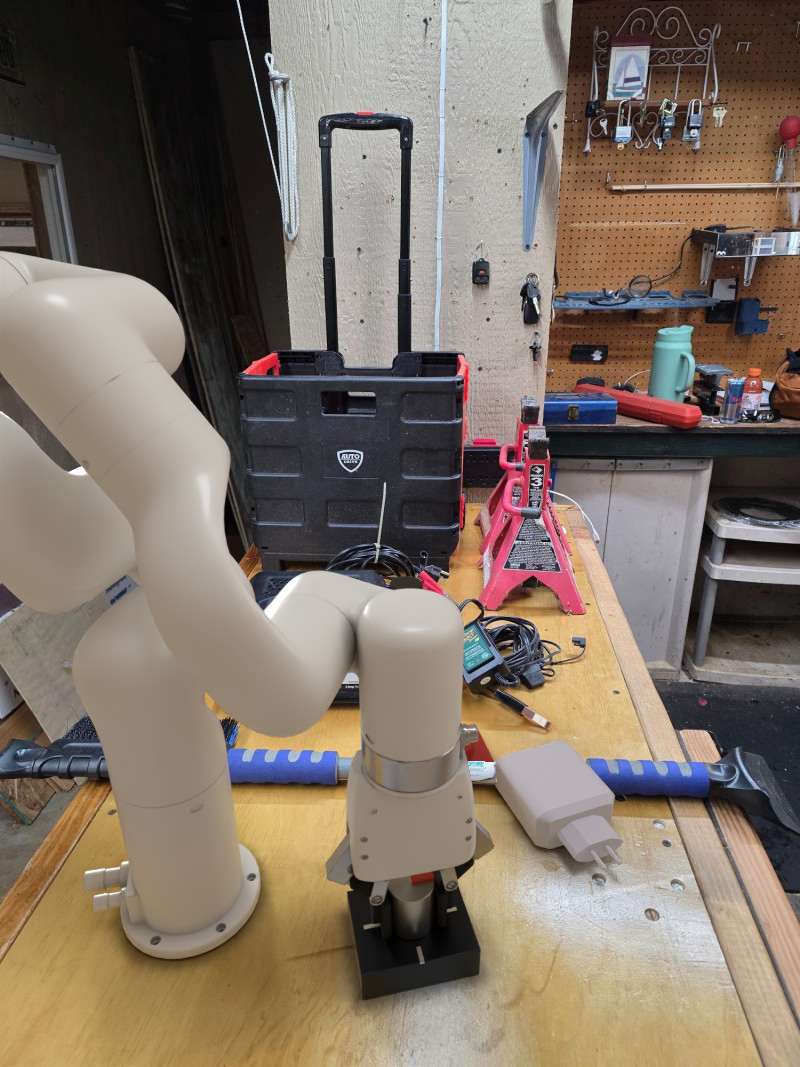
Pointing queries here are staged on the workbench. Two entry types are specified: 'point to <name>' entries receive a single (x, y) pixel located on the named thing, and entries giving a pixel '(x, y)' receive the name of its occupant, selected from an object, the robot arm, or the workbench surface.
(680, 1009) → the workbench surface
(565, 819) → the charger
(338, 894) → the workbench surface
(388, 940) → the black flat block
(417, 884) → the dial
